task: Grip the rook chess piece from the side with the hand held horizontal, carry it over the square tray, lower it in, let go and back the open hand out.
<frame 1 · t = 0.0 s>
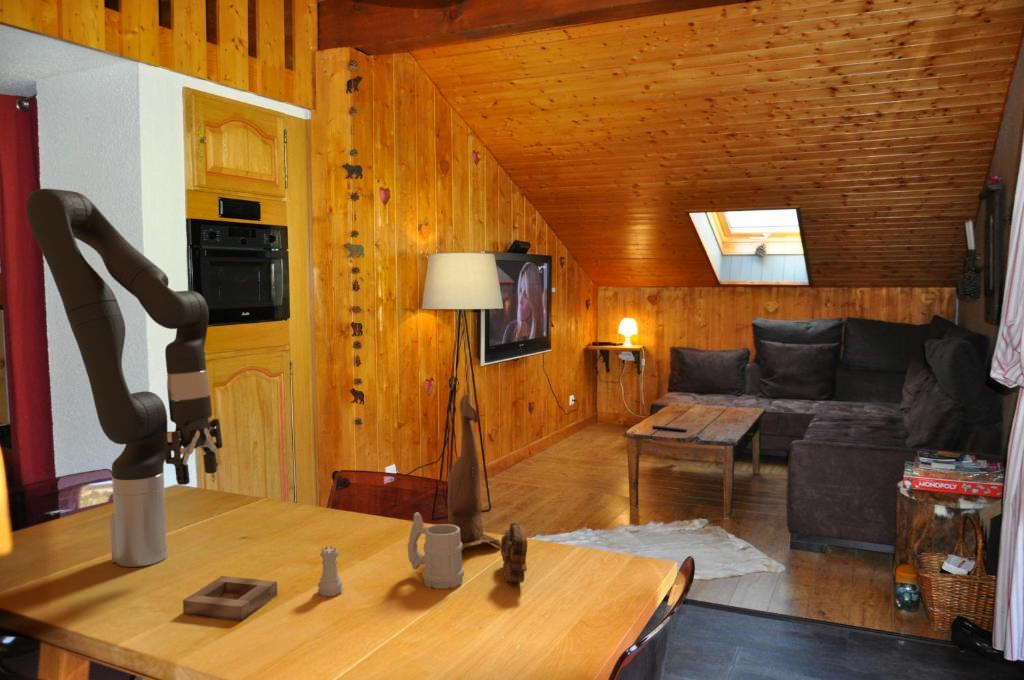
hand: (197, 478, 157), 17 cm above the table, tool pointing down, fingers open, 8 cm apart
wooden carving: (512, 579, 151), on the table
bird sculpture: (464, 548, 168), on the table
rook chess piece: (330, 593, 145), on the table
mug: (434, 580, 151), on the table
square tray: (231, 604, 140), on the table
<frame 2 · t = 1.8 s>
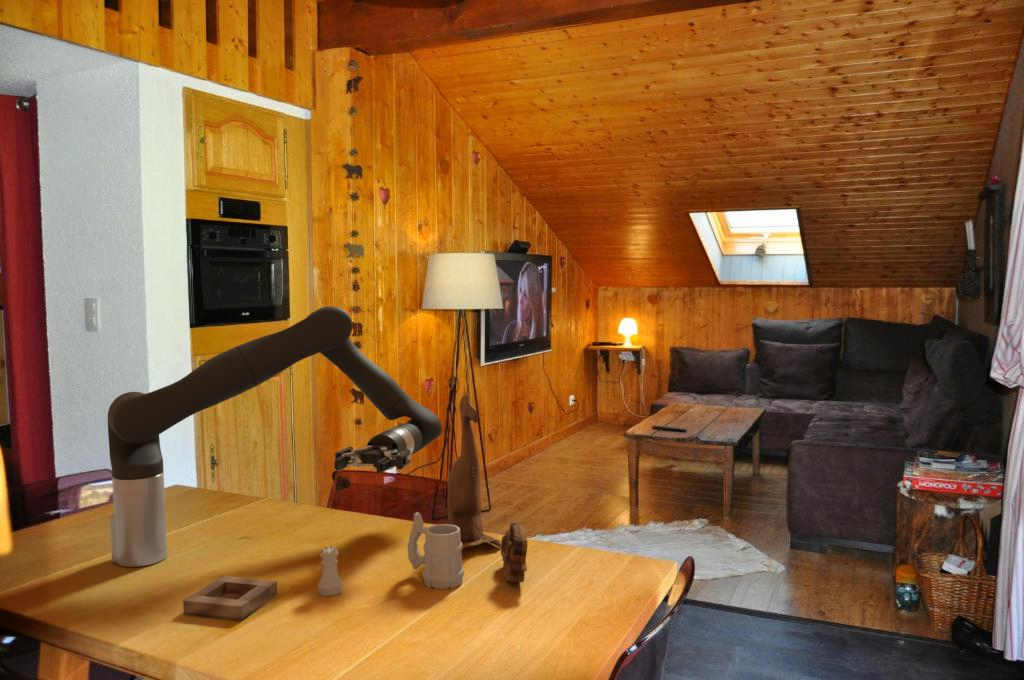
hand: (357, 466, 155), 20 cm above the table, tool horizontal, fingers open, 8 cm apart
nothing on the table moved.
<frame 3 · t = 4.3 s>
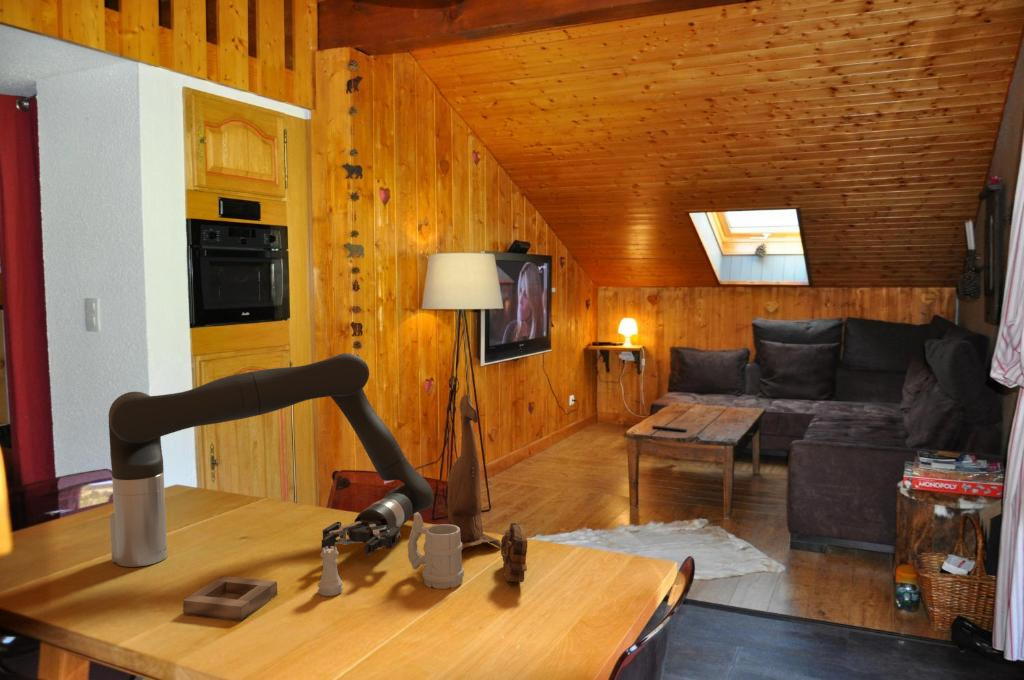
hand: (345, 547, 150), 6 cm above the table, tool horizontal, fingers open, 8 cm apart
nothing on the table moved.
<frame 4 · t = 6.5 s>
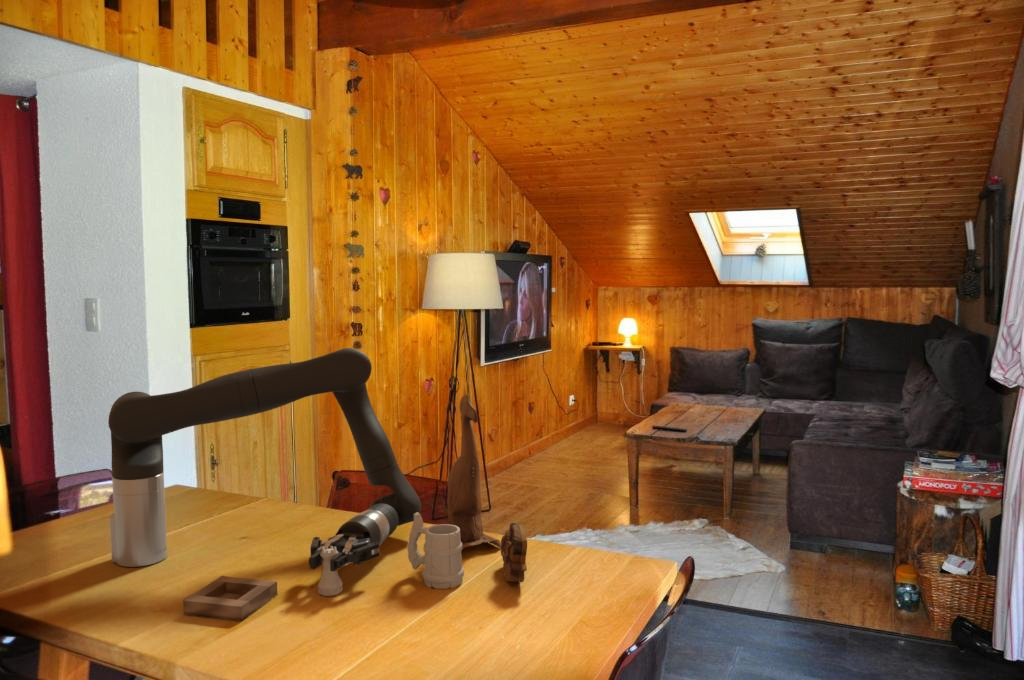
hand: (322, 564, 142), 6 cm above the table, tool horizontal, fingers closed on rook chess piece, 3 cm apart
rook chess piece: (330, 593, 145), on the table, touching gripper
everything else where it was.
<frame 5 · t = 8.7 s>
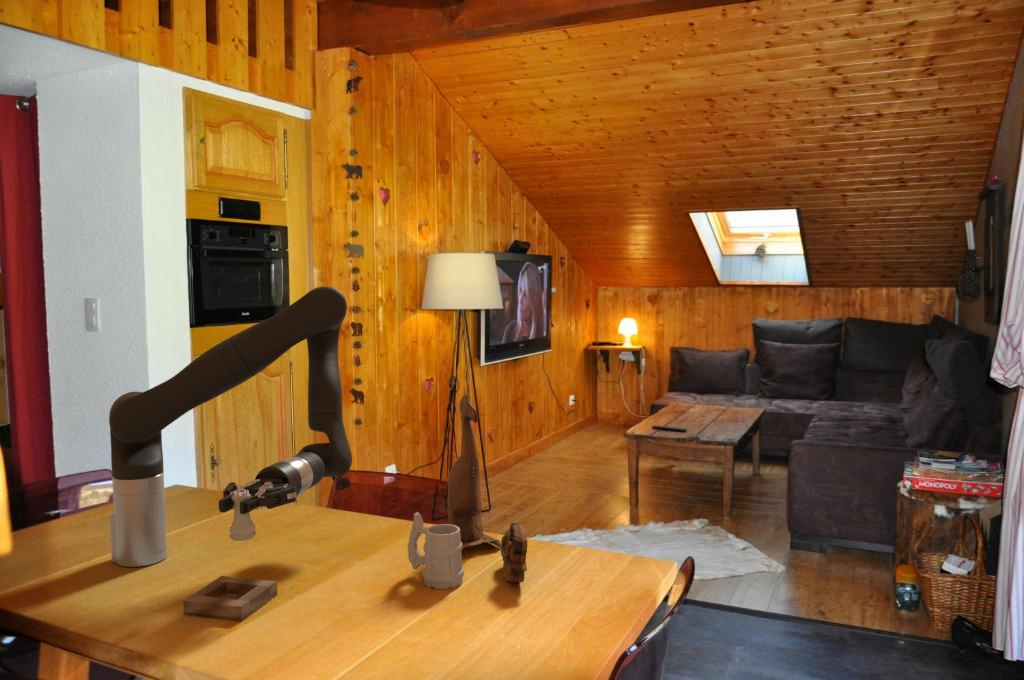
hand: (231, 507, 136), 18 cm above the table, tool horizontal, fingers closed on rook chess piece, 3 cm apart
rook chess piece: (242, 538, 139), point 11 cm above the table, touching gripper
everything else where it was.
when the fingers open (7 cm above the table, at t = 11.2 s): rook chess piece stays where it is, resting on square tray.
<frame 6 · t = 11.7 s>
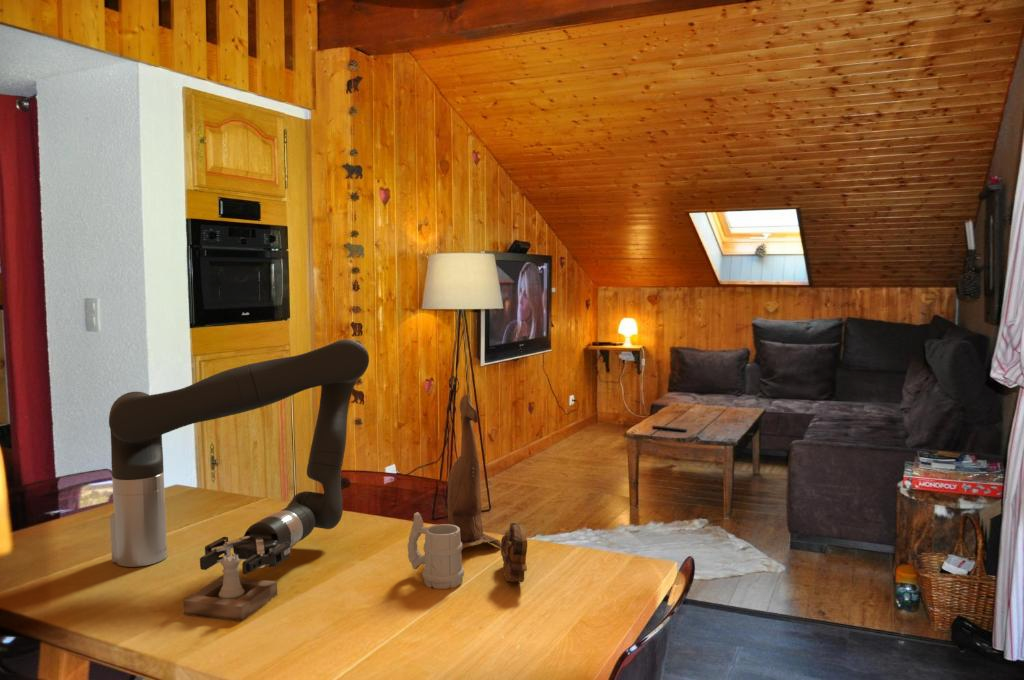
hand: (223, 566, 137), 8 cm above the table, tool horizontal, fingers open, 7 cm apart
rook chess piece: (232, 602, 140), resting on square tray
everything else where it was.
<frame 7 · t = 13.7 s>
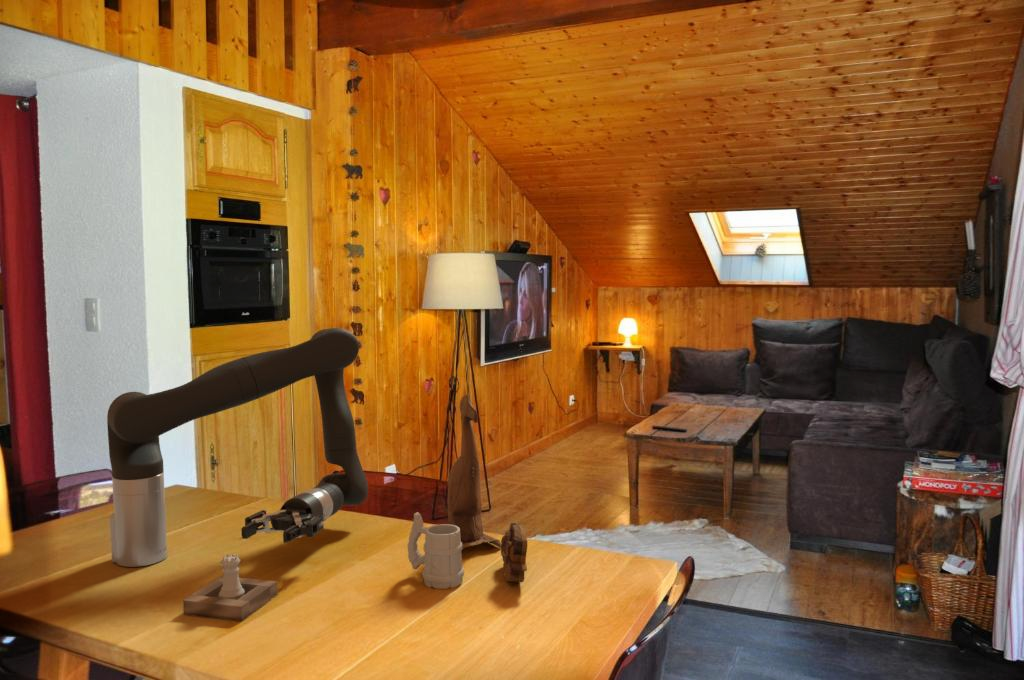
hand: (264, 535, 150), 8 cm above the table, tool horizontal, fingers open, 8 cm apart
nothing on the table moved.
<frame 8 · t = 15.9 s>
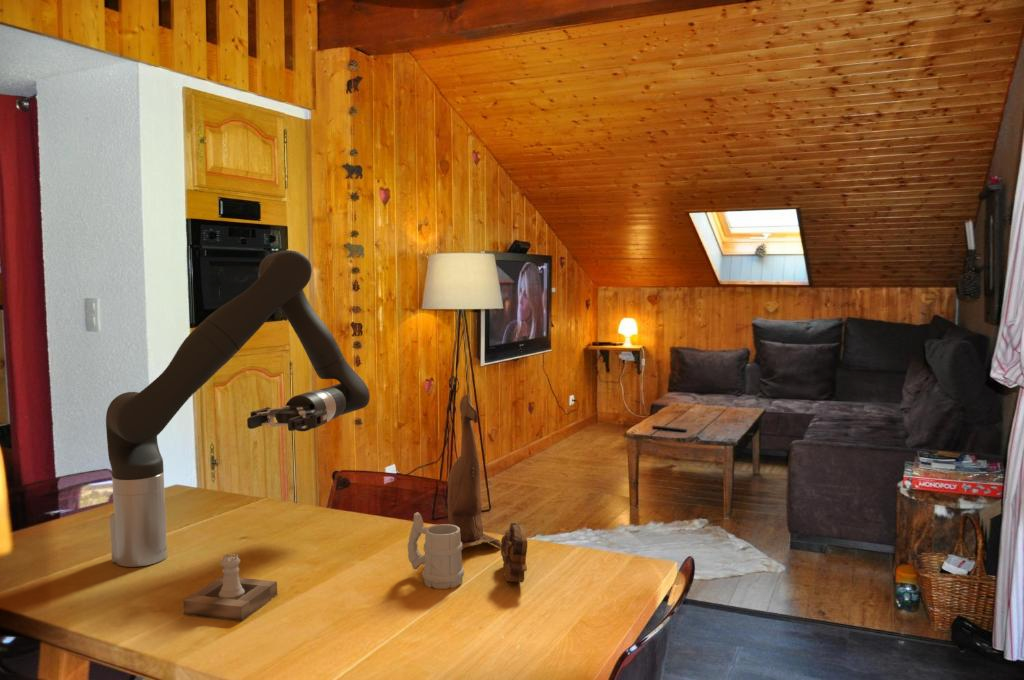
hand: (269, 424, 154), 28 cm above the table, tool horizontal, fingers open, 8 cm apart
nothing on the table moved.
at the end: rook chess piece 0.1 cm off-centre on the square tray, point 0.3 cm above the square tray's base; rook chess piece tilted 0°; the gripper is holding nothing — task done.
